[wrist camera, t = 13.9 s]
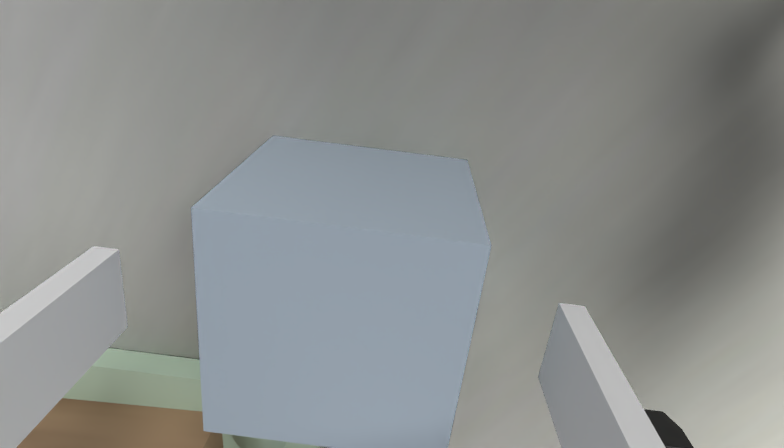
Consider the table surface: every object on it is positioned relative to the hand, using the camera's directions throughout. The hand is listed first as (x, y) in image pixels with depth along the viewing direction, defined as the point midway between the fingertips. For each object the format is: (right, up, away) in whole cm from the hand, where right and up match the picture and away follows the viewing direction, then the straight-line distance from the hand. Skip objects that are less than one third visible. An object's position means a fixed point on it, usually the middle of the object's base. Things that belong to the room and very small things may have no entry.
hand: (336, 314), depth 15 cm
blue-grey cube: (+1, +2, +4) cm, 5 cm away
